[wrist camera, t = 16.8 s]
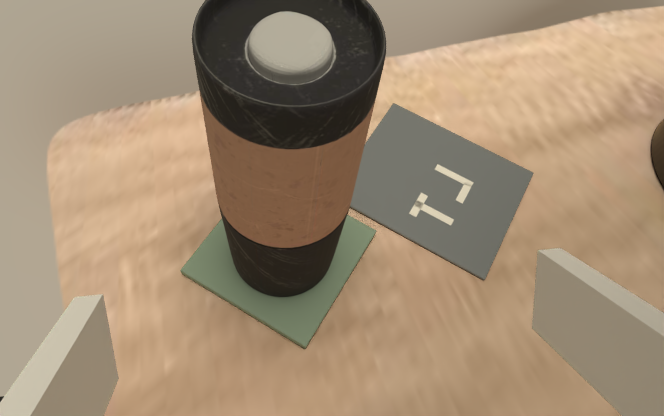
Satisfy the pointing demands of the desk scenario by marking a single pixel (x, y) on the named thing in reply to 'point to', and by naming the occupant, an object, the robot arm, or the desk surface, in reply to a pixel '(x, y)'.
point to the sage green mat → (278, 312)
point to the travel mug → (286, 127)
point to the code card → (438, 189)
